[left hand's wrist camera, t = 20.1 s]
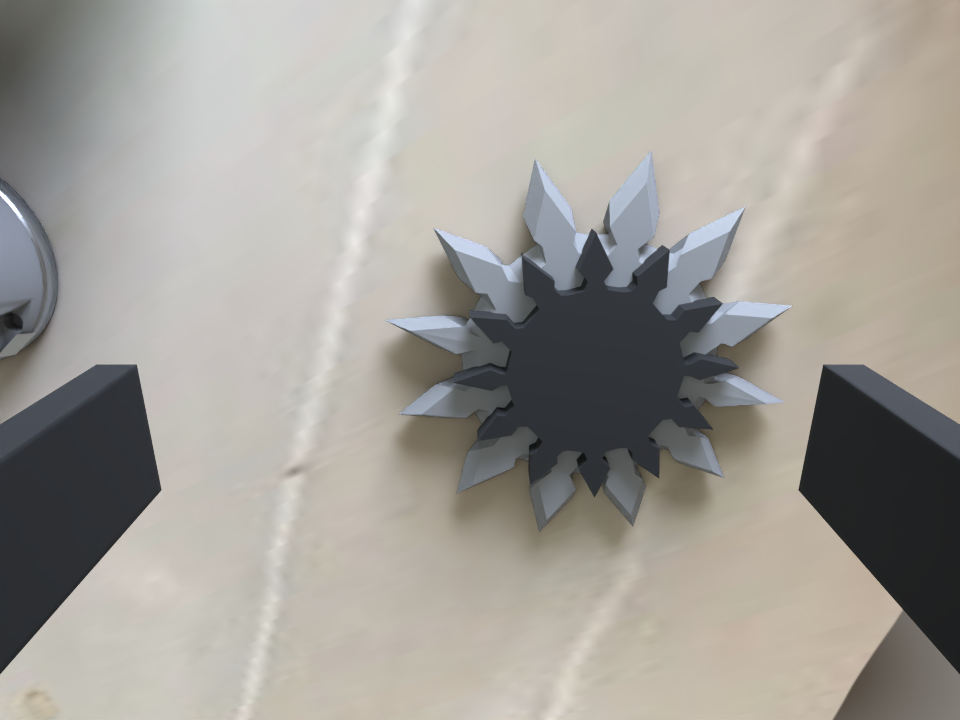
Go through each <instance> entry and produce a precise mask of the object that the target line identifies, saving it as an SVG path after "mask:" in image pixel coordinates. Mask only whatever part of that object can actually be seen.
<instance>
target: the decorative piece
mask: <svg viewBox="0 0 960 720" xmlns="http://www.w3.org/2000/svg"><path fill="white" fill-rule="evenodd" d="M745 207H746V206H745ZM745 207H743V208H741V209H739V210H737V211H735V212H733V213H731V214H729V215H727V216H725V217H723V218H721V219H719V220H717V221H715V222H713V223H710V224H708V225H706V226H704V227H702V228H700V229H698V230H696V231H694V232H692V233H690V234H688V235H687V236H686V237H685V238H683V239H682V240H681V241H679V242H678V243H677V244H676V245H674V246H673V247H672V248H671V249H670V250H669V249H667V248H666V247H664V246H663V245H662V246H661V247H659V248H658V249H656V248H654V247H652V246H650V245H648V244H646V243H647V242H648V241H649V240H650V239H652V238H653V237H654V235H655V230H656V226H657V221H658V217H659V205H658V198H657V190H656V183H655V175H654V168H653V160H652V152H651V151H650V152H649V153H648V155H647V156H646V157H645V158H644V160H643V161H642V162H641V163H640V165H639V166H638V167H637V168H636V169H635V171H634V172H633V173H632V174H631V176H630V177H629V178H628V179H627V180H626V182H625V183H624V184H623V185H622V187H621V188H620V189H619V190H618V192H617V193H616V194H615V195H614V196H613V198H612V199H611V200H610V201H609V205H608V208H607V211H606V215H605V218H604V221H603V222H604V225H605V227H606V230H607V232H608V234H597V233H596V232H595V231H594V230H593V229H591V231H590V233H589V234H581V233H578V232H576V229H575V224H574V219H573V214H572V210H571V207H570V205H569V204H568V203H567V201H566V200H565V199H564V197H563V196H562V195H561V193H560V192H559V190H558V189H557V188H556V186H555V185H554V184H553V182H552V181H551V180H550V178H549V177H548V175H547V174H546V173H545V171H544V170H543V169H542V167H541V166H540V164H539V163H538V162H537V160H536V159H535V161H534V166H533V171H532V176H531V181H530V185H529V190H528V195H527V200H526V205H525V210H524V214H523V217H524V220H525V222H526V224H527V226H528V228H529V231H530V233H531V235H532V237H533V239H534V240H535V241H536V242H537V245H535V246H534V247H533V248H531V249H530V250H529V251H527V252H526V253H525V254H522V253H521V257H519V258H518V259H517V260H515V261H514V262H513V263H511V264H510V265H509V266H508V265H503V264H502V262H501V260H500V259H499V258H498V257H497V256H496V255H495V254H494V253H493V252H492V251H490V250H489V249H488V248H487V247H486V246H483V245H480V244H477V243H475V242H472V241H469V240H466V239H463V238H461V237H458V236H455V235H452V234H449V233H447V232H444V231H441V230H438V229H435V228H434V230H435V232H436V234H437V236H438V238H439V240H440V242H441V244H442V246H443V248H444V250H445V252H446V254H447V256H448V258H449V260H450V262H451V264H452V266H453V268H454V270H455V272H456V274H457V276H458V278H459V279H461V280H462V281H463V282H464V283H465V284H466V285H467V286H469V287H470V288H471V289H472V290H473V291H474V292H475V293H479V294H480V296H481V298H480V299H479V301H478V303H477V305H476V307H475V309H474V310H470V318H469V320H467V319H465V318H464V317H456V316H444V315H442V316H429V317H417V318H404V319H391V320H385V321H387V322H389V323H391V324H393V325H395V326H397V327H399V328H401V329H403V330H405V331H407V332H409V333H411V334H413V335H415V336H417V337H419V338H421V339H423V340H425V341H427V342H429V343H431V344H433V345H435V346H437V347H439V348H442V349H444V350H447V351H449V352H452V353H455V354H460V353H462V367H463V371H460V372H457V373H454V377H452V378H449V379H447V380H445V381H443V382H440V383H438V384H436V385H434V386H433V387H432V388H431V389H429V390H428V391H427V392H426V393H424V394H423V395H422V396H420V397H419V398H418V399H417V400H415V401H414V402H413V403H412V404H410V405H409V406H408V407H407V408H405V409H404V410H403V411H402V412H400V413H399V415H413V416H426V417H439V418H467V417H468V416H470V415H471V414H472V413H474V412H475V414H476V415H477V417H478V419H479V420H480V422H481V424H482V425H481V426H480V427H479V429H478V440H477V441H476V443H475V444H474V445H473V446H472V447H471V449H470V450H469V451H468V452H467V456H466V460H465V464H464V467H463V471H462V475H461V479H460V482H459V486H458V490H457V493H459V492H461V491H463V490H466V489H468V488H470V487H472V486H475V485H477V484H479V483H481V482H484V481H486V480H488V479H490V478H493V477H495V476H497V475H499V474H502V473H504V472H505V471H507V470H509V469H511V468H513V467H514V464H515V459H516V458H517V459H523V460H526V461H529V478H530V488H529V491H530V495H531V499H532V503H533V508H534V512H535V516H536V520H537V524H538V529H539V532H540V531H541V530H542V529H543V528H544V526H545V525H546V524H547V523H548V522H549V521H550V520H551V519H552V518H553V517H554V516H555V515H556V514H557V513H558V512H559V511H560V509H561V508H562V507H563V506H564V505H565V504H566V503H567V502H568V501H569V500H570V499H571V498H572V496H573V494H574V492H575V490H576V487H575V485H574V483H573V481H572V473H581V474H582V476H583V478H584V479H585V481H586V483H587V485H588V487H589V488H590V490H591V492H592V494H593V496H594V497H595V496H596V494H597V492H598V490H599V488H600V486H601V485H602V483H603V487H604V493H605V494H606V495H607V496H608V497H609V499H610V500H611V501H612V502H613V503H614V505H615V506H616V507H617V508H618V509H619V511H620V512H621V513H622V514H623V515H624V516H625V518H626V519H627V520H628V521H629V522H630V524H631V525H632V526H633V525H634V522H635V519H636V516H637V512H638V509H639V506H640V503H641V500H642V497H643V494H644V490H645V487H646V486H645V484H644V481H643V479H642V477H641V475H640V473H639V470H638V468H637V466H636V465H637V464H639V465H640V466H642V467H643V468H645V469H646V470H648V471H649V472H651V473H652V474H654V475H655V476H656V477H658V478H659V453H660V449H662V448H663V449H669V450H670V453H671V455H672V457H673V459H675V460H676V461H677V462H679V463H680V464H683V465H686V466H689V467H692V468H695V469H699V470H702V471H705V472H708V473H711V474H714V475H717V476H720V477H723V478H724V476H723V473H722V471H721V468H720V466H719V463H718V461H717V458H716V456H715V453H714V451H713V448H712V446H711V443H710V441H709V439H708V438H707V437H706V436H705V435H703V434H702V433H701V432H700V431H699V430H697V429H696V428H699V429H712V427H711V426H710V425H709V423H708V422H707V421H706V419H705V418H704V417H703V416H702V414H701V413H700V412H699V411H698V410H699V408H700V407H701V405H702V404H703V403H704V401H705V400H708V401H709V402H710V403H711V404H712V405H714V406H715V407H721V406H737V405H753V404H769V403H782V402H783V401H782V400H780V399H778V398H776V397H774V396H773V395H771V394H769V393H767V392H765V391H764V390H762V389H760V388H758V387H756V386H755V385H753V384H751V383H749V382H748V381H746V380H744V379H742V378H740V377H738V376H735V375H732V374H728V373H725V372H728V371H731V370H734V369H738V368H739V367H737V366H736V365H735V364H734V363H733V362H732V361H731V360H730V359H727V358H723V357H718V356H717V346H719V345H720V344H722V343H723V344H726V345H729V346H731V347H733V346H734V345H736V344H738V343H740V342H741V341H743V340H745V339H747V338H748V337H750V336H751V335H752V334H754V333H755V332H757V331H758V330H759V329H761V328H762V327H764V326H765V325H766V324H768V323H769V322H771V321H772V320H773V319H775V318H776V317H778V316H779V315H780V314H782V313H783V312H785V311H786V310H787V309H789V308H790V307H792V306H789V305H777V304H765V303H752V302H740V301H739V302H732V303H725V304H723V303H721V302H720V301H719V300H717V299H716V298H714V297H711V298H706V296H705V294H704V291H703V289H702V287H701V284H700V282H701V281H704V280H709V279H712V278H713V277H714V275H715V274H716V272H717V271H718V270H719V268H720V267H721V266H722V264H723V263H724V261H725V259H726V257H727V254H728V251H729V249H730V246H731V243H732V241H733V238H734V236H735V233H736V230H737V228H738V225H739V222H740V220H741V217H742V215H743V212H744V209H745ZM457 493H456V494H457Z"/></svg>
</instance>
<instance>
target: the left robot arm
mask: <svg viewBox="0 0 960 720" xmlns="http://www.w3.org/2000/svg"><path fill="white" fill-rule="evenodd" d="M57 290H58V276H57V268H56V262H55V258H54V254H53V251H52V248H51V245H50V242H49V240H48V238H47V235H46V233H45V231H44V229H43V227H42V226H41V224H40V222H39V220H38V219H37V217H36V216H35V214H34V213H33V211H32V210H31V209H30V207H29V206H28V205H27V204H26V202H25V201H24V200H23V199H22V198H21V197H20V196H19V195H18V193H17V192H16V191H15V190H13V189H12V188H11V187H10V186H9V185H8V184H7V183H6V182H5V181H3V180H2V179H1V178H0V360H2V359H4V358H6V357H8V356H12V355H16V354H17V353H18V352H19V351H20V350H22V349H23V348H25V347H27V346H28V345H29V344H30V343H32V342H33V341H34V340H35V339H36V338H37V337H38V336H39V335H40V334H41V332H42V331H43V330H44V329H45V327H46V325H47V324H48V322H49V320H50V318H51V316H52V313H53V310H54V307H55V304H56V298H57ZM160 491H161V485H160V480H159V475H158V470H157V465H156V460H155V455H154V450H153V445H152V440H151V435H150V430H149V425H148V420H147V415H146V409H145V404H144V399H143V394H142V389H141V384H140V379H139V374H138V369H137V365H95V366H94V367H92V368H91V369H89V370H87V371H86V372H84V373H82V374H81V375H79V376H78V377H76V378H74V379H73V380H71V381H70V382H68V383H66V384H65V385H63V386H62V387H60V388H58V389H57V390H55V391H54V392H52V393H50V394H49V395H47V396H45V397H44V398H42V399H41V400H39V401H37V402H36V403H34V404H33V405H31V406H29V407H28V408H26V409H25V410H23V411H21V412H20V413H18V414H17V415H15V416H13V417H12V418H10V419H8V420H7V421H5V422H4V423H2V424H0V674H1V673H2V671H3V670H4V669H5V668H6V667H7V666H8V665H9V664H10V662H11V661H12V660H13V659H14V658H15V657H16V656H17V654H18V653H19V652H20V651H21V650H22V649H23V648H24V646H25V645H26V644H27V643H28V642H29V641H30V640H31V638H32V637H33V636H34V635H35V634H36V633H37V632H38V630H39V629H40V628H41V627H42V626H43V625H44V624H45V622H46V621H47V620H48V619H49V618H50V617H51V616H52V614H53V613H54V612H55V611H56V610H57V609H58V608H59V606H60V605H61V604H62V603H63V602H64V601H65V600H66V598H67V597H68V596H69V595H70V594H71V593H72V592H73V590H74V589H75V588H76V587H77V586H78V585H79V584H80V582H81V581H82V580H83V579H84V578H85V577H86V576H87V574H88V573H89V572H90V571H91V570H92V569H93V568H94V566H95V565H96V564H97V563H98V562H99V561H100V560H101V558H102V557H103V556H104V555H105V554H106V553H107V552H108V550H109V549H110V548H111V547H112V546H113V545H114V544H115V542H116V541H117V540H118V539H119V538H120V537H121V536H122V534H123V533H124V532H125V531H126V530H127V529H128V528H129V527H130V525H131V524H132V523H133V522H134V521H135V520H136V519H137V517H138V516H139V515H140V514H141V513H142V512H143V511H144V509H145V508H146V507H147V506H148V505H149V504H150V503H151V501H152V500H153V499H154V498H155V497H156V496H157V495H158V493H159V492H160ZM799 491H800V492H801V493H802V495H803V496H804V497H805V498H806V499H807V500H808V501H809V503H810V504H811V505H812V506H813V507H814V508H815V509H816V511H817V512H818V513H819V514H820V515H821V516H822V517H823V519H824V520H825V521H826V522H827V523H828V524H829V525H830V527H831V528H832V529H833V530H834V531H835V532H836V533H837V534H838V536H839V537H840V538H841V539H842V540H843V541H844V542H845V544H846V545H847V546H848V547H849V548H850V549H851V550H852V552H853V553H854V554H855V555H856V556H857V557H858V558H859V560H860V561H861V562H862V563H863V564H864V565H865V566H866V568H867V569H868V570H869V571H870V572H871V573H872V574H873V576H874V577H875V578H876V579H877V580H878V581H879V582H880V584H881V585H882V586H883V587H884V588H885V589H886V590H887V592H888V593H889V594H890V595H891V596H892V597H893V598H894V600H895V601H896V602H897V603H898V604H899V605H900V606H901V608H902V609H903V610H904V611H905V612H906V613H907V614H908V616H909V617H910V618H911V619H912V620H913V621H914V622H915V623H916V625H917V626H918V627H919V628H920V629H921V630H922V632H923V633H924V634H925V635H926V636H927V637H928V638H929V640H930V641H931V642H932V643H933V644H934V645H935V646H936V648H937V649H938V650H939V651H940V652H941V653H942V654H943V656H944V657H945V658H946V659H947V660H948V661H949V662H950V663H951V665H952V666H953V667H954V668H955V669H956V670H957V671H958V673H959V674H960V424H958V423H956V422H955V421H953V420H952V419H950V418H948V417H947V416H945V415H943V414H942V413H940V412H939V411H937V410H935V409H934V408H932V407H931V406H929V405H927V404H926V403H924V402H923V401H921V400H919V399H918V398H916V397H915V396H913V395H911V394H910V393H908V392H906V391H905V390H903V389H902V388H900V387H898V386H897V385H895V384H894V383H892V382H890V381H889V380H887V379H886V378H884V377H882V376H881V375H879V374H878V373H876V372H874V371H873V370H871V369H869V368H868V367H866V366H865V365H823V369H822V374H821V379H820V384H819V389H818V394H817V399H816V404H815V409H814V415H813V420H812V425H811V430H810V435H809V440H808V445H807V450H806V455H805V460H804V465H803V470H802V475H801V480H800V485H799Z"/></svg>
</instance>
